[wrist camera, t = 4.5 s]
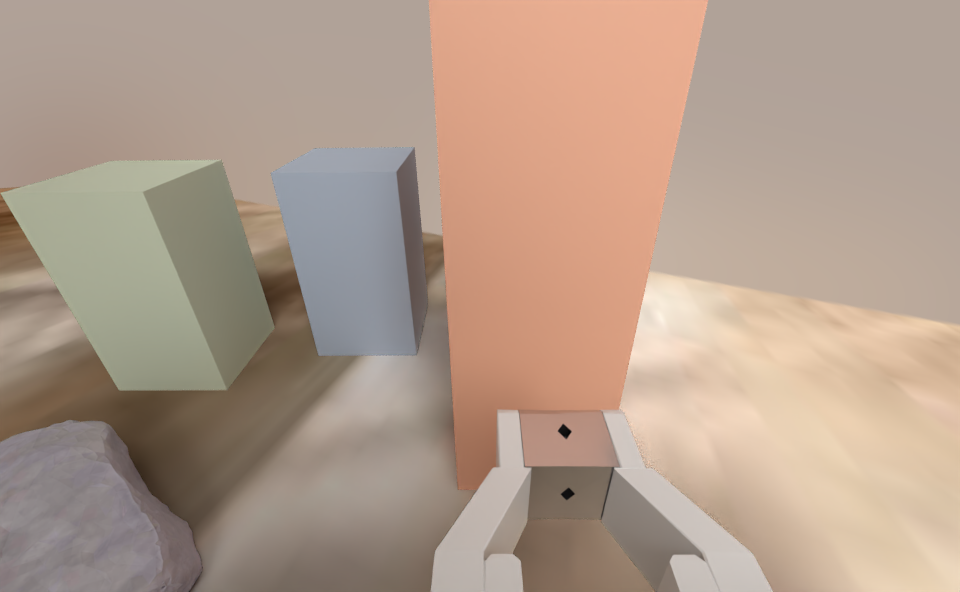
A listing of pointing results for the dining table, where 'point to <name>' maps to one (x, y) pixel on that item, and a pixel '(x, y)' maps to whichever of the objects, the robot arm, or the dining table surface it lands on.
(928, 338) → the dining table surface
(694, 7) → the terracotta block
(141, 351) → the sage-green block
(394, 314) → the slate-blue block
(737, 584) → the robot arm
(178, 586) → the stone block
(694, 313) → the dining table surface
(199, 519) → the dining table surface
